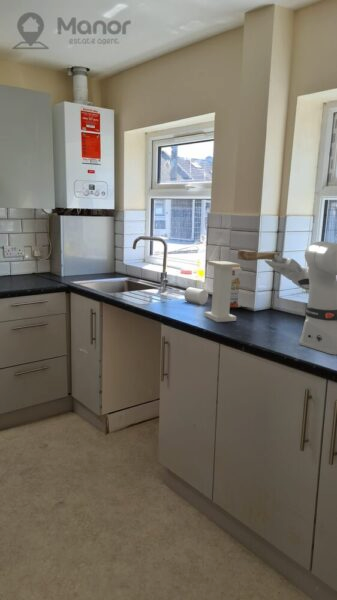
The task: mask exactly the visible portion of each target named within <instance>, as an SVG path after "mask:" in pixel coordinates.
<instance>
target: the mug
mask: <svg viewBox="0 0 337 600" xmlns="http://www.w3.org/2000/svg"><path fill="white" fill-rule="evenodd" d="M208 297H209V294H208V292H207V290H206V289H202V288H198V287H192V286H191V287H190V286H189V287H187V288H186V290H185V291H184V300H185V301H186V302H188V303H193V304H199V305H205V304H206V302H207V301H208Z"/></svg>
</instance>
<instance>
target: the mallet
mask: <svg viewBox="0 0 337 600" xmlns="http://www.w3.org/2000/svg"><path fill="white" fill-rule="evenodd" d="M273 254H277V255H278V256H281V253H280V252H277V251H267V252H266V251H265V252H264V251H263V252H261V251H260V252H259V251H258V252H257V251H255V250H249V249H238V250H237V259H238V260H241V261H247V262H248V261H257V260H259V261H260V260H265V259H275V258H274V257H273Z"/></svg>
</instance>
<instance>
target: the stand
mask: <svg viewBox="0 0 337 600" xmlns="http://www.w3.org/2000/svg"><path fill="white" fill-rule="evenodd" d="M207 265H209V266H212V267H213V281H212V282H213V283H212V294H211V295H212V297H211V311H204V313H203V317H205V318H207V319H210V320H211V321H214V322H216V323H221V322H234V321H235V322H236V321H237V316H236V315H234V314H232V313H230V309H231V307H230V296H231V283H232V269H233V268H240V267H241V264H240V263H237V262H233V261H227V260H208V261H207Z"/></svg>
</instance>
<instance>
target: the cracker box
mask: <svg viewBox="0 0 337 600" xmlns="http://www.w3.org/2000/svg"><path fill="white" fill-rule="evenodd" d="M241 273H242V269H241V268H233V269H232V283H231V296H230V308H238V307H237V306H238V293H239V285H240V282H241Z"/></svg>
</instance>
